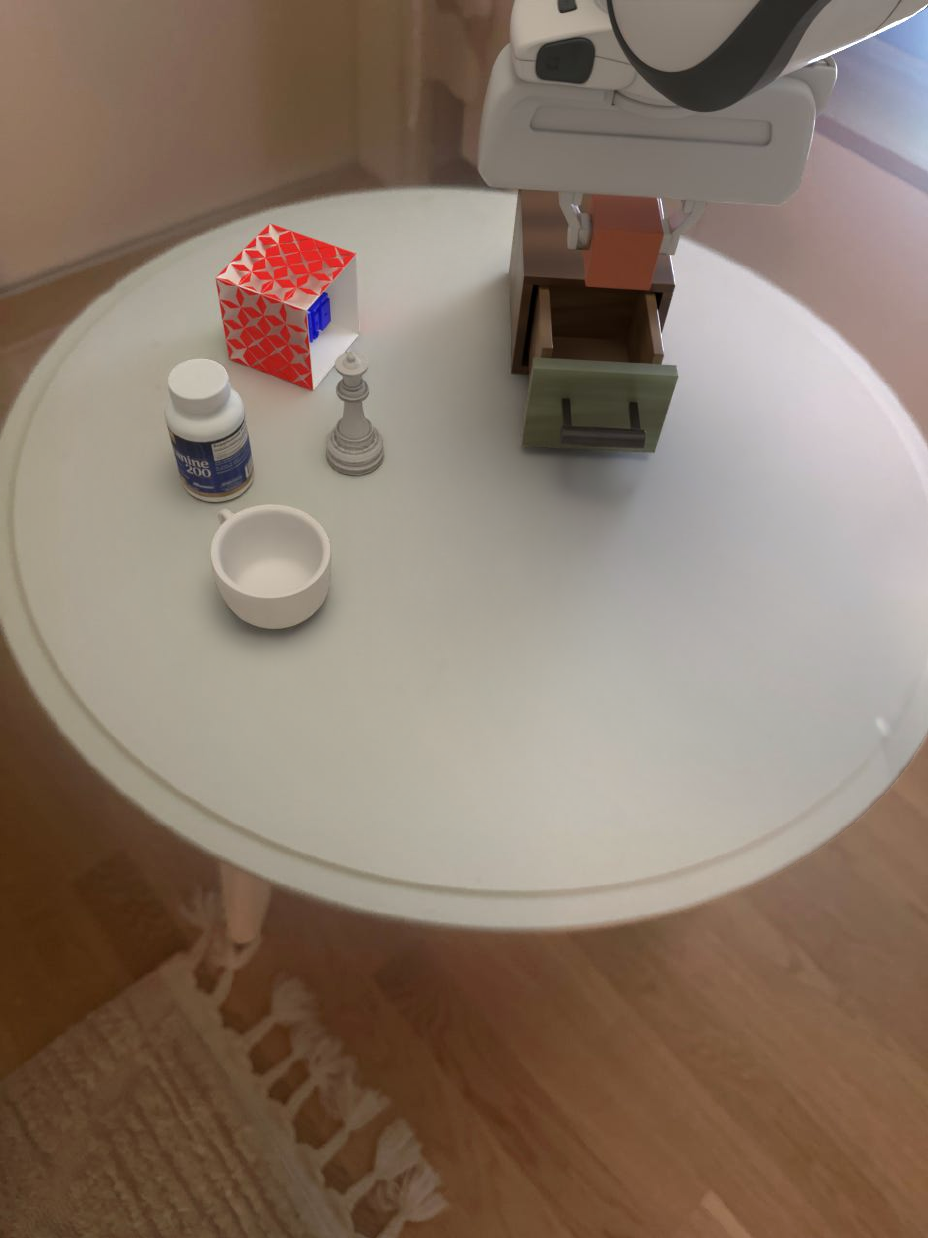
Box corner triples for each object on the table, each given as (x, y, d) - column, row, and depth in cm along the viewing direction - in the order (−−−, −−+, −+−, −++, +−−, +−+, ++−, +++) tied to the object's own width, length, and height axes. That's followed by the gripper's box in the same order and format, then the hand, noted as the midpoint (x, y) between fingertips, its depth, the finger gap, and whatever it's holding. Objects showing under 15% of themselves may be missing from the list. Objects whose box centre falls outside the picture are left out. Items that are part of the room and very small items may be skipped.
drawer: (660, 493, 74) (685, 418, 68) (523, 486, 74) (535, 409, 67) (640, 345, 84) (661, 267, 77) (518, 339, 83) (529, 259, 77)
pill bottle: (166, 476, 73) (139, 376, 65) (223, 440, 76) (203, 340, 68) (213, 516, 71) (190, 418, 63) (269, 478, 74) (255, 379, 66)
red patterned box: (279, 304, 85) (269, 222, 79) (359, 334, 84) (357, 253, 77) (228, 359, 81) (214, 277, 74) (312, 391, 79) (305, 310, 73)
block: (643, 251, 69) (657, 193, 66) (649, 290, 67) (664, 233, 63) (581, 247, 69) (592, 189, 65) (585, 286, 67) (596, 229, 63)
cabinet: (648, 380, 83) (675, 284, 75) (511, 373, 82) (523, 275, 74) (634, 279, 90) (657, 181, 82) (508, 271, 90) (520, 172, 82)
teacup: (357, 604, 68) (355, 556, 63) (266, 665, 65) (257, 619, 60) (271, 518, 72) (263, 467, 67) (181, 572, 68) (166, 522, 64)
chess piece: (336, 482, 74) (330, 381, 66) (319, 442, 76) (310, 339, 68) (391, 468, 75) (392, 367, 67) (373, 429, 77) (371, 326, 69)
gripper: (837, 17, 57) (762, 228, 69) (488, -9, 56) (471, 209, 68) (860, 73, 54) (778, 285, 65) (488, 46, 53) (470, 266, 64)
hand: (619, 247), depth 67 cm, fingers closed on block, 4 cm apart
